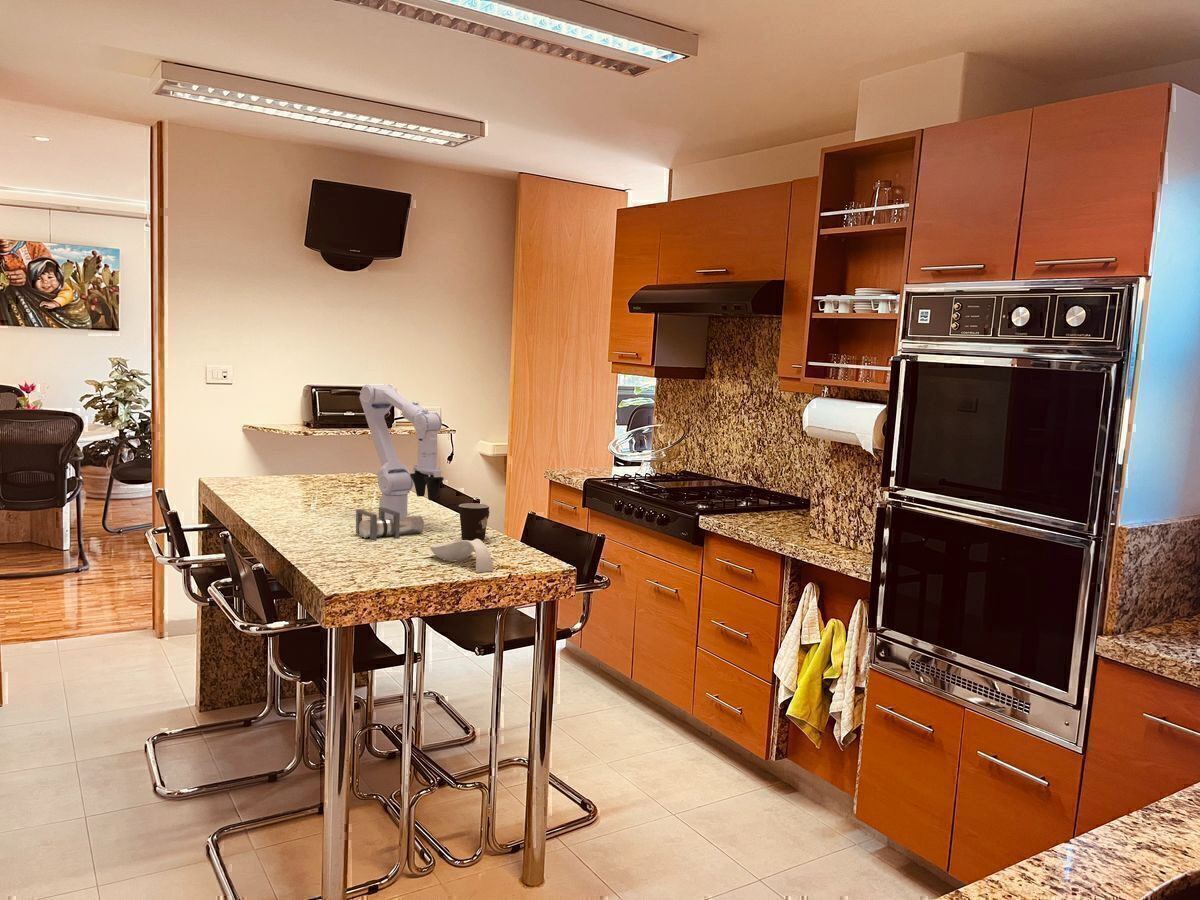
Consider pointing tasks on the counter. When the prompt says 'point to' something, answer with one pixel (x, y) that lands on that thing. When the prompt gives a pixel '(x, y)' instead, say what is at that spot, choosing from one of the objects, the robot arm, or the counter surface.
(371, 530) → the collar
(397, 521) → the collar
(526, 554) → the counter surface
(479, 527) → the coffee mug
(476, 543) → the spoon rest
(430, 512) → the counter surface
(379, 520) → the tube
